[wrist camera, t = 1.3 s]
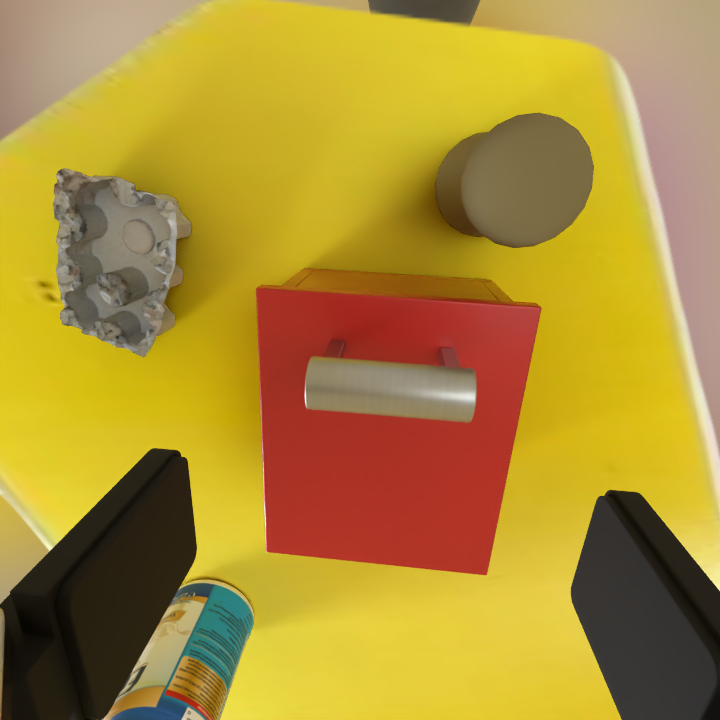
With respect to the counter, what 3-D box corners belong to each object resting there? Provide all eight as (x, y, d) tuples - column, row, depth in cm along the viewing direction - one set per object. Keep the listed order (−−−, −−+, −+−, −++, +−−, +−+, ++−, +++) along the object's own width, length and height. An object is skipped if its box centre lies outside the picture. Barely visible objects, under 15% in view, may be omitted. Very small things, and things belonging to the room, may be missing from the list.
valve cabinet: (303, 267, 30) (261, 300, 21) (491, 279, 29) (533, 319, 20) (303, 450, 35) (269, 541, 26) (462, 465, 34) (484, 564, 25)
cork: (417, 170, 27) (427, 157, 17) (508, 109, 25) (580, 53, 15) (463, 255, 29) (499, 290, 18) (552, 202, 27) (644, 208, 17)
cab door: (261, 284, 20) (207, 319, 15) (537, 302, 20) (591, 346, 14) (269, 542, 26) (233, 638, 20) (484, 564, 25) (508, 671, 20)
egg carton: (99, 162, 29) (53, 157, 25) (207, 208, 29) (178, 210, 25) (76, 309, 32) (32, 324, 29) (172, 347, 33) (142, 367, 29)
